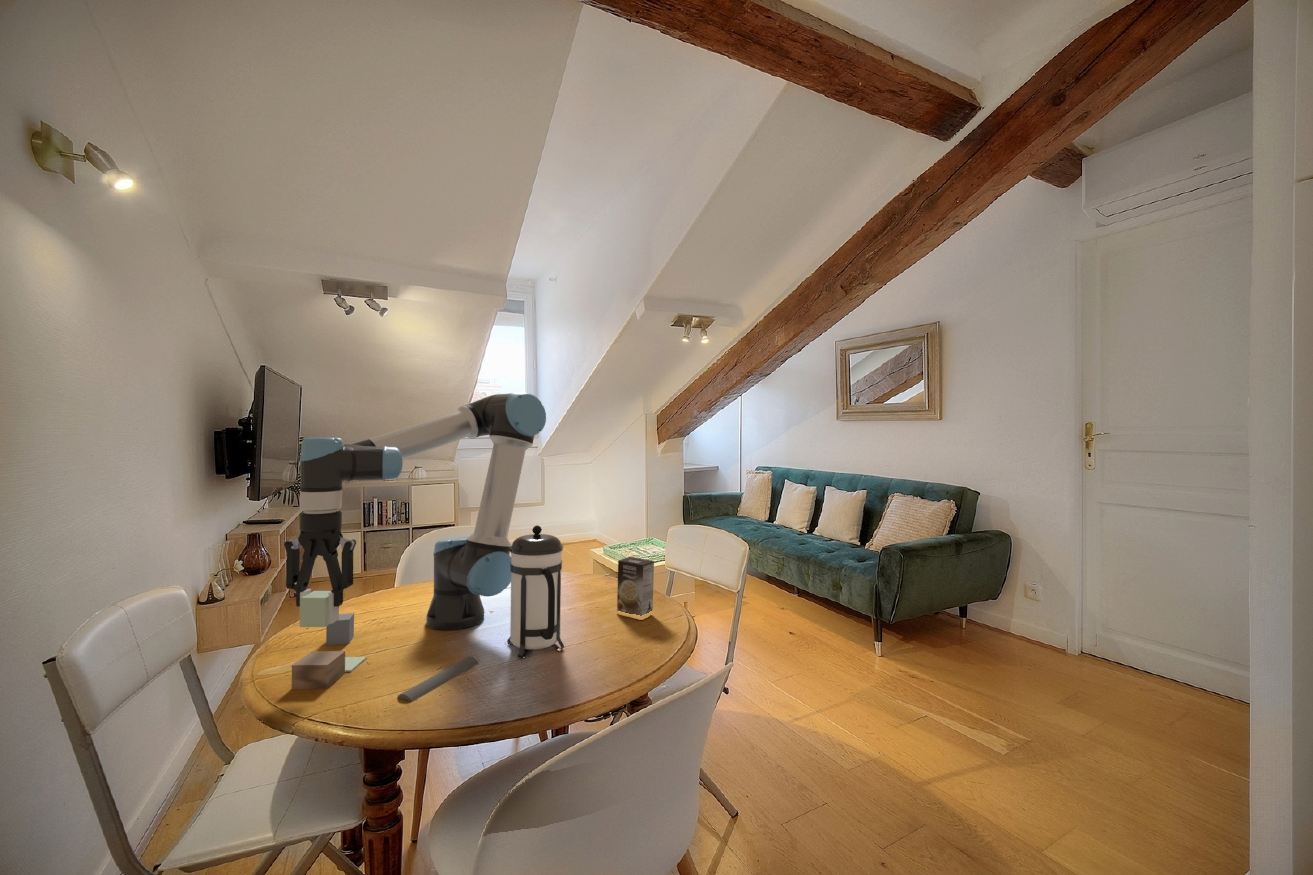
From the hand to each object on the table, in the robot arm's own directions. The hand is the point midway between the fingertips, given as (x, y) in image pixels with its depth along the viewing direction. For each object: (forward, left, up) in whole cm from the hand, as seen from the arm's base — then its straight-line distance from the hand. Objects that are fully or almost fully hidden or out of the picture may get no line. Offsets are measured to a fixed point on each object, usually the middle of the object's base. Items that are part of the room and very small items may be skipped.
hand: (319, 621), depth 113 cm
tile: (-1, -8, -12) cm, 15 cm away
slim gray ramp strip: (-25, 0, -13) cm, 28 cm away
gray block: (+7, -22, -13) cm, 26 cm away
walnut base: (0, 0, -13) cm, 13 cm away
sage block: (0, 0, 0) cm, 0 cm away
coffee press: (-43, -16, -13) cm, 48 cm away
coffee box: (-67, -40, -13) cm, 79 cm away
